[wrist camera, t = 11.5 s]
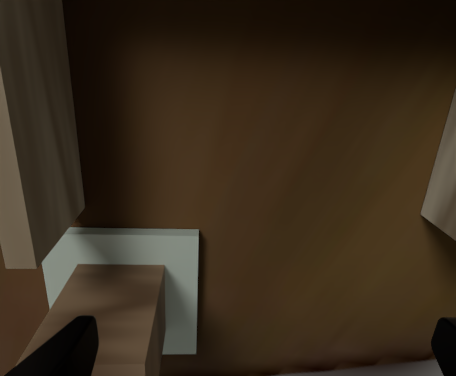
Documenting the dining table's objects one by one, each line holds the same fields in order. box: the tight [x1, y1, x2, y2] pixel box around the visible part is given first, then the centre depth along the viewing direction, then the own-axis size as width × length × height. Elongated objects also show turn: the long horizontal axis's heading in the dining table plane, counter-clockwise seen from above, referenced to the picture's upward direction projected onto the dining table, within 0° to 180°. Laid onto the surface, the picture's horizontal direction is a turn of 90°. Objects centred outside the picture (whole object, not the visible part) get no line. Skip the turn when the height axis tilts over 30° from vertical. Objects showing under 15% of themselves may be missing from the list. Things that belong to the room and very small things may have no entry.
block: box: [16, 264, 166, 376], centre depth 18 cm, size 5×5×7 cm
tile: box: [42, 227, 199, 354], centre depth 21 cm, size 9×9×1 cm
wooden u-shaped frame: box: [0, 0, 456, 269], centre depth 15 cm, size 22×14×6 cm, turn 87°
